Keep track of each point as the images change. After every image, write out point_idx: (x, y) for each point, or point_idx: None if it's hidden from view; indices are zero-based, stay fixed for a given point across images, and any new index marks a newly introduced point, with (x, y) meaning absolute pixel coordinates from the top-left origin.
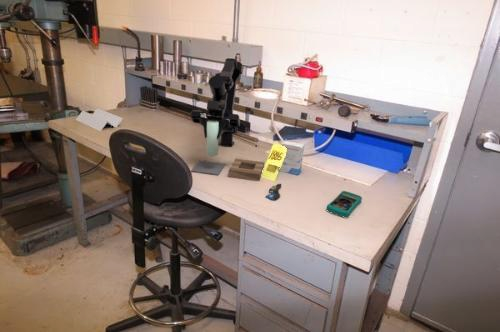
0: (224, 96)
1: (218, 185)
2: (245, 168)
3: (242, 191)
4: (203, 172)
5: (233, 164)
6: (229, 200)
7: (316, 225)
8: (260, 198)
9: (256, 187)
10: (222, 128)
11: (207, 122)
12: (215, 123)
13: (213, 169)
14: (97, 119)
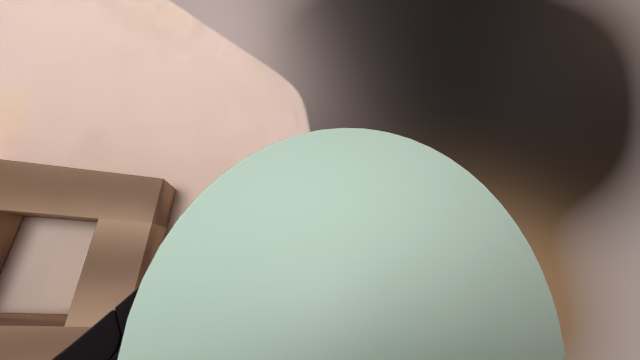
0: None
1: (218, 105)
2: (57, 315)
3: (107, 64)
4: None
5: (130, 264)
6: (166, 5)
7: None
8: (24, 14)
9: (25, 102)
10: (70, 347)
11: (511, 229)
12: (251, 193)
13: None
14: None
